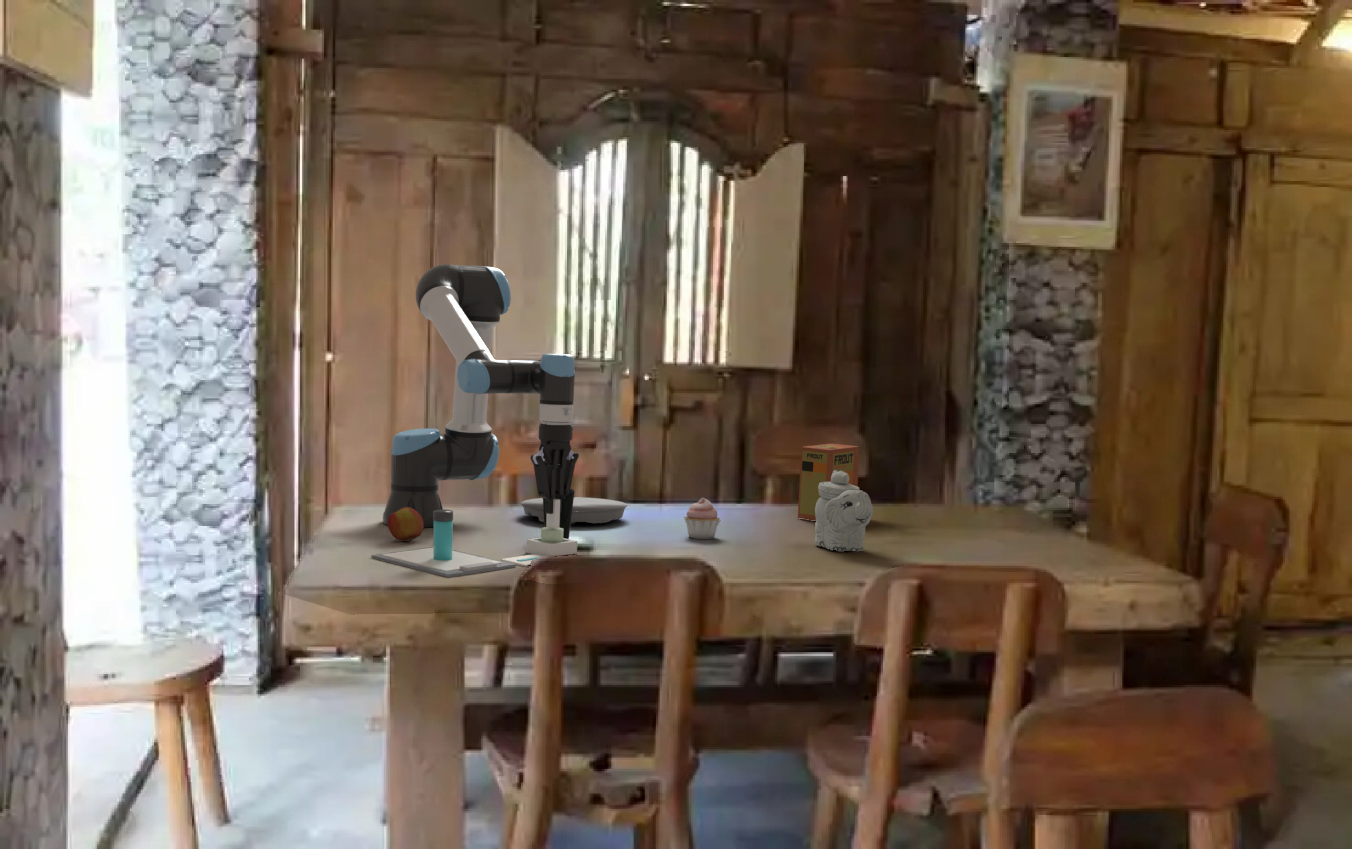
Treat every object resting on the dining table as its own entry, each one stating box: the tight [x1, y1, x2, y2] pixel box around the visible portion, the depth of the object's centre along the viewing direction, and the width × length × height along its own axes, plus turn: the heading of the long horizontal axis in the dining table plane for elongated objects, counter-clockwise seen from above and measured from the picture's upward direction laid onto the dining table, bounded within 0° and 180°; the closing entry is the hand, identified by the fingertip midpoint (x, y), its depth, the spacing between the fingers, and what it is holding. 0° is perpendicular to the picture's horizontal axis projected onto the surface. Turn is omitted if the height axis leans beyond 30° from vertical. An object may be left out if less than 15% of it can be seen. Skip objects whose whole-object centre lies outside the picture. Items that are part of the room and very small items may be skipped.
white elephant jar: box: [814, 470, 874, 552], centre depth 319 cm, size 16×15×19 cm
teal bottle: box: [432, 508, 454, 561], centre depth 282 cm, size 4×4×10 cm
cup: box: [543, 488, 575, 539], centre depth 316 cm, size 8×8×12 cm
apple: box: [387, 507, 424, 542], centre depth 306 cm, size 8×8×8 cm
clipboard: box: [370, 546, 517, 578], centre depth 283 cm, size 26×18×1 cm
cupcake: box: [683, 497, 722, 540], centre depth 328 cm, size 9×9×10 cm
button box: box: [525, 537, 578, 556], centre depth 299 cm, size 8×8×3 cm
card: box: [500, 554, 544, 567], centre depth 289 cm, size 8×10×1 cm
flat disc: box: [520, 496, 629, 526], centre depth 348 cm, size 28×28×4 cm
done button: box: [540, 527, 564, 544], centre depth 298 cm, size 5×5×4 cm
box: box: [797, 443, 860, 520], centre depth 368 cm, size 17×9×20 cm, turn 144°
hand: (552, 527), depth 298 cm, fingers closed
